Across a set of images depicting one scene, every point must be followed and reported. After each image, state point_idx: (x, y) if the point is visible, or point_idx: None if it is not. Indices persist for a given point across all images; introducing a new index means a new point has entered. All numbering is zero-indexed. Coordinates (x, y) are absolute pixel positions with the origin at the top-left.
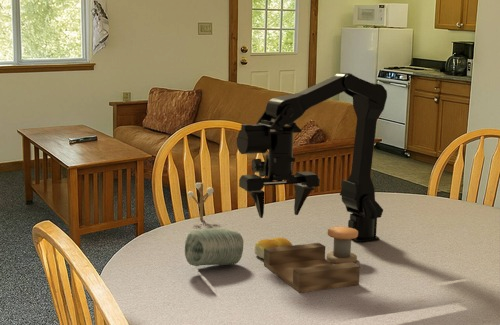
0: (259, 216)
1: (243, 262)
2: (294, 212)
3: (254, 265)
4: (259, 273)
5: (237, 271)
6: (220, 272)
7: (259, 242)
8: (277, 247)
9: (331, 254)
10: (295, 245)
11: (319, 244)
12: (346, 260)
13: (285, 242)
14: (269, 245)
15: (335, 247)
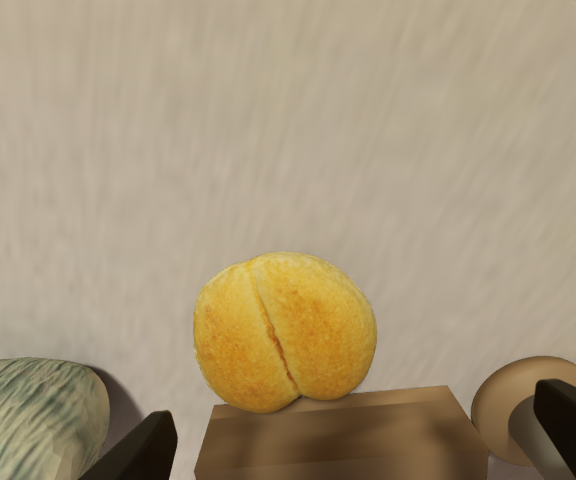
0: (149, 419)
1: (143, 362)
2: (549, 392)
3: (180, 398)
4: (182, 465)
5: (110, 437)
6: None
7: (200, 356)
8: (258, 472)
9: (511, 401)
10: (354, 462)
11: (474, 469)
12: (524, 465)
13: (330, 396)
14: (239, 406)
15: (538, 465)
